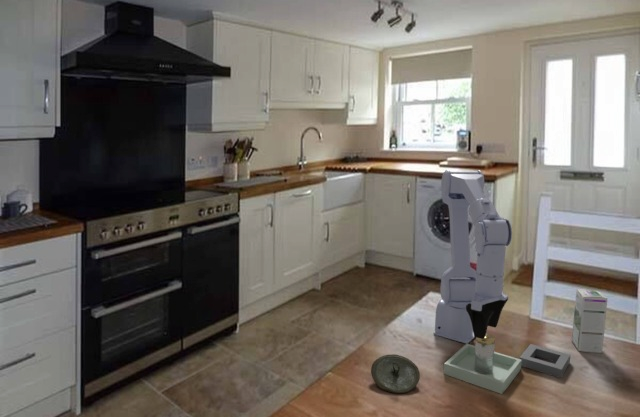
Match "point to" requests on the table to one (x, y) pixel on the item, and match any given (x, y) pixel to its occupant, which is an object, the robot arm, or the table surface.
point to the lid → (395, 373)
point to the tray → (496, 381)
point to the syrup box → (589, 320)
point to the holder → (543, 366)
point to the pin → (484, 354)
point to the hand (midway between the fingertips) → (485, 331)
